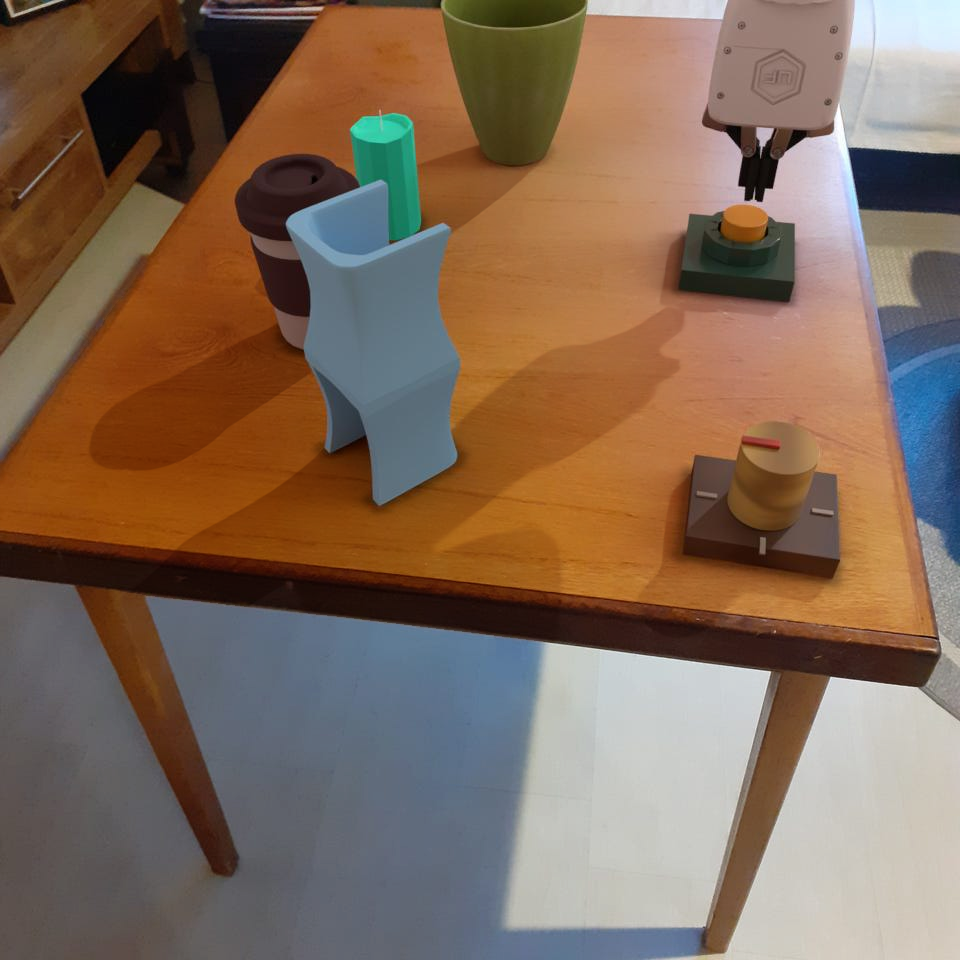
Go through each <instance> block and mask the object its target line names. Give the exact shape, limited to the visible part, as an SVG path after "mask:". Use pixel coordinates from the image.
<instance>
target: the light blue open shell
mask: <svg viewBox="0 0 960 960" xmlns="http://www.w3.org/2000/svg"><path fill="white" fill-rule="evenodd" d="M286 227H287V230H288V232H289V234H290V237H291V239H292V241H293V243H294V245H295V247H296V250H297V252H298V254H299V257H300V259H301V261H302V264H303V267H304V270H305V272H306V275H307V279H308V283H309V287H310V298H311V309H310V320H309V325H308V330H307V334H306V338H305V342H304V347H303V348H304V350H303V352H304V358H305V360H306V361H307V364H308V365H309V367H310V369H311V371H312V373H313V375H314V377H315V379H316V382H317V384H318V386H319V389H320V392H321V394H322V397H323V400H324V404H325V408H326V409H325V411H326V419H327V420H326V421H327V422H326V423H327V424H326V426H327V427H326V436H325V443H324V449H325V450H326V451H327V452H328V453H329V454H332V453H334V452H336V451H337V450H340V449H341V448H343V447H345V446H347V445H349V444H351V443H353V442H356V441H357V440H359V439H361V438H363V437H365V436H366V440H367V445H368V449H369V455H370V457H369V458H370V464H371V481H372V482H371V483H372V500H373V501H374V503H375V504H376V505H378V507H381V506H382V505H384V504H386V503H388V502H390V501H392V500H393V499H395V498H397V497H399V496H401V495H402V494H404V493H406V492H408V491H410V490H412V489H414V488H415V487H417V486H419V485H421V484H422V483H424V482H426V481H428V480H430V479H431V478H433V477H435V476H437V475H438V474H440V473H443V472H444V471H446V470H447V469H449V468H450V467H452V466H453V465H454V464H455V463H456V462H457V459H458V451H457V448H456V445H455V442H454V438H453V434H452V429H451V406H452V400H453V394H454V392H455V391H454V390H455V388H456V384H457V380H458V377H459V374H460V370H461V356H460V355H459V353H458V351H457V349H456V347H455V346H454V343H453V341H452V340H451V338H450V335H449V333H448V331H447V328H446V326H445V323H444V320H443V317H442V313H441V307H440V301H439V282H440V281H439V280H440V276H441V269H442V264H443V259H444V256H445V252H446V248H447V245H448V242H449V240H450V235H451V231H452V228H451V227H450V226H448V224H446V223H445V222H441V223H439V224H437V225H433V226H432V227H429V228H426V229H425V230H423V231H420V232H418V233H417V232H416V233H414V234H413V235H412V236H410V237H407V238H403V239H400V240H397V241H396V242H393V243H392V244H390V240H389V230H388V184H387V183H385V182H384V181H383V180H378V181H376V182H373V183H370V184H368V185H365V186H363V187H360V188H357V189H355V190H352V191H350V192H347V193H344V194H342V195H339V196H337V197H334V198H331V199H329V200H326V201H323V202H321V203H318V204H316V205H313V206H310V207H308V208H305V209H303V210H301V211H298V212H296V213H294V214H292V215H291V216H290V217H289V218H288V220H287V222H286Z"/></svg>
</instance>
